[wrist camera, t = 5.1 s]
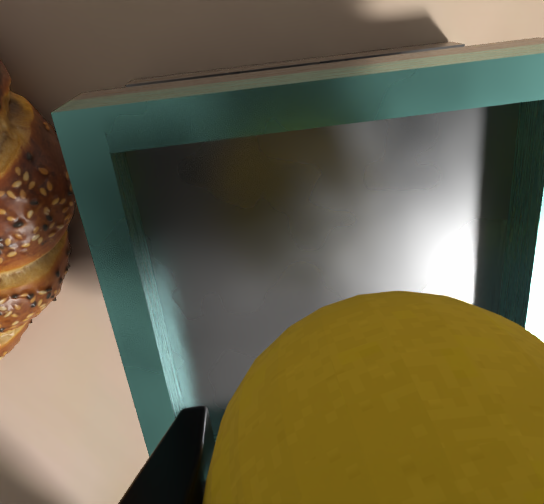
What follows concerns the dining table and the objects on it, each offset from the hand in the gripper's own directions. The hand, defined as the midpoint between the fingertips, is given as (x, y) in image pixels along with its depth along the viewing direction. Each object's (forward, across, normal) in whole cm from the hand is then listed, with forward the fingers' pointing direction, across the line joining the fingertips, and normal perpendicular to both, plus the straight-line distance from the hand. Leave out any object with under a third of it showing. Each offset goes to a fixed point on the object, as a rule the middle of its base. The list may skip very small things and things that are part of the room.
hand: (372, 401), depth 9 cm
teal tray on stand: (+9, 0, 0) cm, 9 cm away
